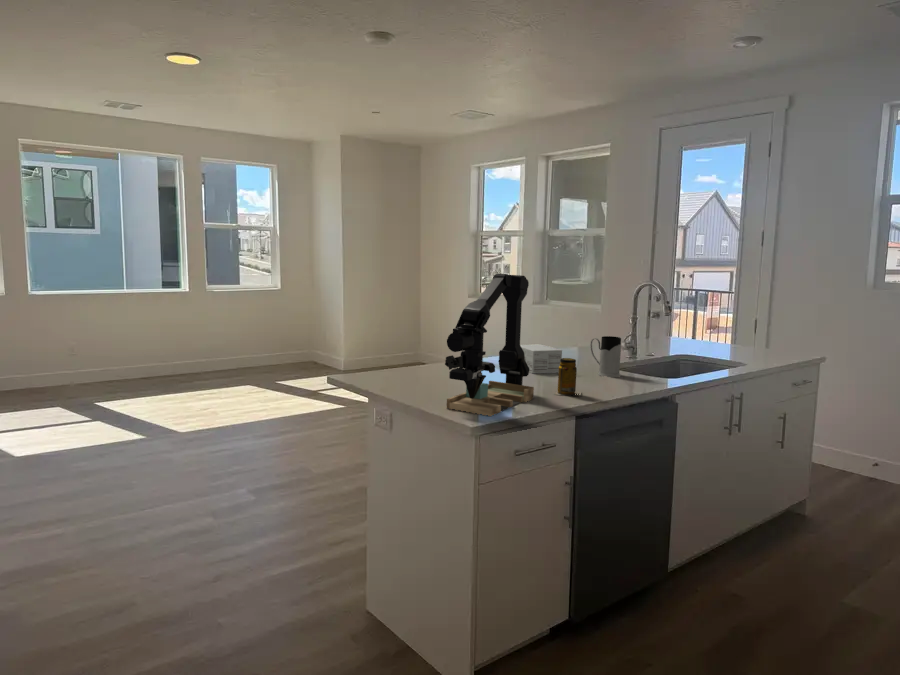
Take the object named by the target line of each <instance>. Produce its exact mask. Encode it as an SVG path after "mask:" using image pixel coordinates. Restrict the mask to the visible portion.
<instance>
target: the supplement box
mask: <svg viewBox="0 0 900 675" xmlns="http://www.w3.org/2000/svg"><path fill="white" fill-rule="evenodd" d="M520 346H521V348H522V350H523V351H524V355H525V361H526V363H527V365H528V367H529V369H530V370H529V374H530V373H531V374H553V373H554V374H558V373H559V366H560V360H561V359H562V358H563V350H562V349H558V348H556V347H552V346H549V345H545V344H520Z"/></svg>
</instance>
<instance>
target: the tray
mask: <svg viewBox="0 0 900 675" xmlns="http://www.w3.org/2000/svg"><path fill="white" fill-rule="evenodd" d="M487 384H488V396H487V397H484V398H482V399H476V398H473V399H471V398H470V397H466V391H465V392H462V393H459V394H457V395H453V396H450V397H448V398H446V409H447V408H449V409H448V410H452V409H455V410H454V411H458V410H461V411H460V412H463V411H466V412H465V413H469V412H472V413H471V414H475V413H477V414H476V415H480V414H482V415H481V416H486V415H488V417H492V415H493V416H494V414H495V415H497V414H499V413H501V411H502V412H504V411H505V410H509V409H511V408H513V407H516V406H518V405H519V403H520V404H522V403H528V402H530V401H532V400H534V393H535V392H534V391H535V388H534V386H529V385H523V384H522V385H516V384H510V383H506V382H502V381H494V380H489V381H488V383H487ZM527 401H528V402H527ZM521 402H522V403H521ZM510 407H511V408H510Z"/></svg>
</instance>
